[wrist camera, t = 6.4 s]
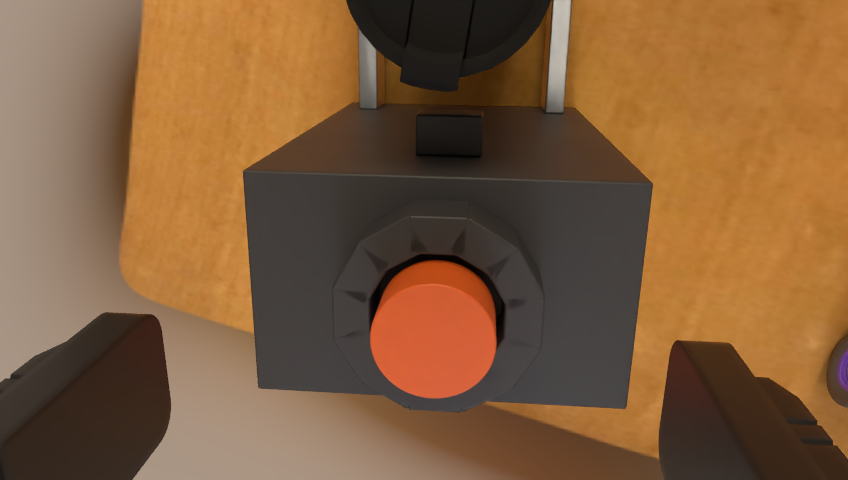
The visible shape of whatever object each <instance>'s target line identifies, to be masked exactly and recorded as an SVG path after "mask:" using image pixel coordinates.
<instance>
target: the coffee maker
mask: <svg viewBox="0 0 848 480" xmlns="http://www.w3.org/2000/svg"><path fill="white" fill-rule="evenodd" d="M421 109H442V110H481V111H483V138H482V156H481V157H445V156H417V155H416V154H415V134H416V115H417V113H418V112H419V110H421ZM243 179H244V193H245V208H246V222H247V236H248V250H249V264H250V278H251V292H252V306H253V320H254V335H255V347H256V362H257V377H258V387H259V388H262V389H279V390H296V391H315V392H332V393H351V394H368V395H384V396H385V397H387V398H389V399H391V400H392V401H394V402H396V403H398V404H399V405H401V406H403V407H405V408H409V409H410V410H430V411H445V412H461V411H466V410H468V409H470V408H472V407H475V406H477V405H479V404H482V403H484V402H486V401H493V402H511V403H529V404H547V405H564V406H582V407H600V408H618V409H625V408H626V406H627V398H628V390H629V381H630V373H631V365H632V356H633V348H634V340H635V331H636V323H637V314H638V306H639V298H640V289H641V281H642V272H643V264H644V256H645V247H646V239H647V230H648V222H649V214H650V205H651V197H652V188H653V184H652V182H651V181H650V180H649V179H648V178H647V177H645V176H644V175H643V174H642V173H641V172H640V171H639V170H638V169H637V168H636V167H635V166H634V165H633V164H632V163H631V162H630V161H629V160H628V159H627V158H626V157H625V156H624V155H623V154H622V153H621V152H620V151H619V150H618V149H617V148H616V147H615V146H614V145H613V144H612V143H611V142H610V141H609V140H607V139H606V138H605V137H604V136H603V135H602V134H601V133H600V132H599V131H598V130H597V129H596V128H595V127H594V126H593V125H592V124H591V123H590V122H589V121H588V120H587V119H586V118H585V117H584V116H583V115H582V114H581V113H580V112H579V111H578V110H577V109H576V108H564V113H563V114H547V113H545V112H544V110H543V109H542V107H516V106H472V105H428V104H383V105H382V106H381V107H379V108H378V109H377V110H374V109H360V108H359V103H351V104H349V105H348V106H346V107H345V108H343V109H341V110H340V111H338V112H337V113H335V114H333V115H332V116H330V117H329V118H327V119H325V120H324V121H322V122H321V123H319V124H317V125H316V126H314V127H313V128H311V129H309V130H308V131H306V132H305V133H303V134H301V135H300V136H298V137H297V138H295V139H293V140H292V141H290V142H289V143H287V144H285V145H284V146H282V147H281V148H279V149H277V150H276V151H274V152H272V153H271V154H269V155H268V156H266V157H264V158H263V159H261V160H260V161H258V162H256V163H255V164H253V165H252V166H250V167H248V168H247V169H245V170H244V171H243ZM427 260H445V261H450V262H454V263H457V264H460V265H462V266H464V267H466V268H468V269H469V270H471V271H472V272H474V273H475V274H476V275H477V276H478V277H480V279H481V280H482V281H483V282H484V283H485V285H486V286H487V288H488V289H489V291H490V293H491V295H492V298H493V301H494V305H495V313H496V342H497V346H496V353H495V357H494V361H493V363H492V365H491V367H490V369H489V371H488V372H487V374H486V375H485V376H484V377H483V378H482V380H481V381H479V382H478V383H477V384H476V385H475V386H473V387H472V388H470V389H469V390H467V391H465V392H463V393H461V394H458V395H455V396H451V397H447V398H424V397H419V396H415V395H413V394H410V393H407V392H405V391H403V390H401V389H400V388H398V387H397V386H395V385H394V384H393V383H391V382H390V381H389V380H388V379H387V378H386V377H385V376H384V375H383V373H382V372H381V371H380V369H379V368H378V366H377V364H376V362H375V360H374V357H373V355H372V351H371V347H370V331H371V326H372V323H373V320H374V317H375V314H376V312H377V309H378V306H379V304H380V301H381V298H382V295H383V293H384V291H385V289H386V287H387V285H388V284H389V282H390V281H391V280H392V279H393V277H394V276H395V275H396V274H398V273H399V272H400V271H401V270H403V269H405V268H406V267H408V266H410V265H412V264H415V263H418V262H422V261H427Z"/></svg>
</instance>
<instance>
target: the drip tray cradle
mask: <svg viewBox="0 0 848 480" xmlns="http://www.w3.org/2000/svg"><path fill="white" fill-rule="evenodd" d="M571 9H572V0H551V2H550V5H549V7H548V9H547V15H546V31H545V46H544V62H543V77H542V93H541V107H542V109H543V110H544V112H545V113H547V114H563V113H564V102H565V89H566V76H567V63H568V49H569V36H570V23H571ZM358 48H359V108H360V109H374V110H377V109H378V108H379V107H381V106H382V105H383V104H384V103H385V56H384V55H382V54H381V53H380V52H378V51H377V50H376V49H375V48H374V47H373V46H372V44H371V43H370V42H369V41H368V40H367V39H366V37H365V36H364V35H363V34H362V33H361V31H360V29H359V27H358ZM482 138H483V111H481V110H442V109H421V110H419V112H418V113H417V115H416V134H415V154H416V155H417V156H445V157H481V156H482Z"/></svg>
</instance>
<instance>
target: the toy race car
mask: <svg viewBox="0 0 848 480" xmlns="http://www.w3.org/2000/svg"><path fill="white" fill-rule="evenodd" d="M827 387H828V390H829V393H830V395H831V397H832V398H833V400H834V401H835V402H837V403H838V404H840V405H842V406H844V407H847V408H848V335H847V336H845V337H844V338H843V339H842V340H841V341H840V343H839V344H838V345H837V347H836V348H835V350H834V351H833V353H832V356H831V358H830V361H829V364H828V368H827Z"/></svg>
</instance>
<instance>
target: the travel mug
mask: <svg viewBox="0 0 848 480" xmlns="http://www.w3.org/2000/svg"><path fill="white" fill-rule="evenodd" d="M346 1H347V4H348V7H349V10H350V13H351V15H352V17H353V19H354V20H355V22H356V24H357V26H358V27H359V29H360V31H361V33H362V34H363V35H364V36H365V37H366V39H367V40H368V41H369V42H370V43H371V44H372V46H373V47H374V48H375V49H376V50H377V51H378V52H380V53H381V54H382V55H384V56H385V57H386V58H387V59H389V60H390V61H392V62H394V63H395V64H397V65H398V66H400V67H402V69H401V76H400V82H403V83H405V84H408V85H411V86H414V87H419V88H424V89H429V90H436V91H444V92H450V91H457V90H458V82H459V78H461V77H465V76H469V75H473V74H477V73H480V72H482V71H485V70H488V69H491V68H493V67H494V66H496V65H498V64H499V63H501V62H503V61H505V60H506V59H508V58H510V57H511V56H512V55H513V54H514V53H515V52H516V51H517V50H519V49H520V48H521V47H522V46H523V45H524V44H525V43H526V42H527V41H528V40H529V38H530V37H531V36H532V34H533V33H534V32H535V30H536V29H537V28H538V27H539V25H540V23H541V21H542V19H543V17H544V15H545V13H546V11H547V9H548V7H549V5H550V2H551V0H346Z"/></svg>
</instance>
